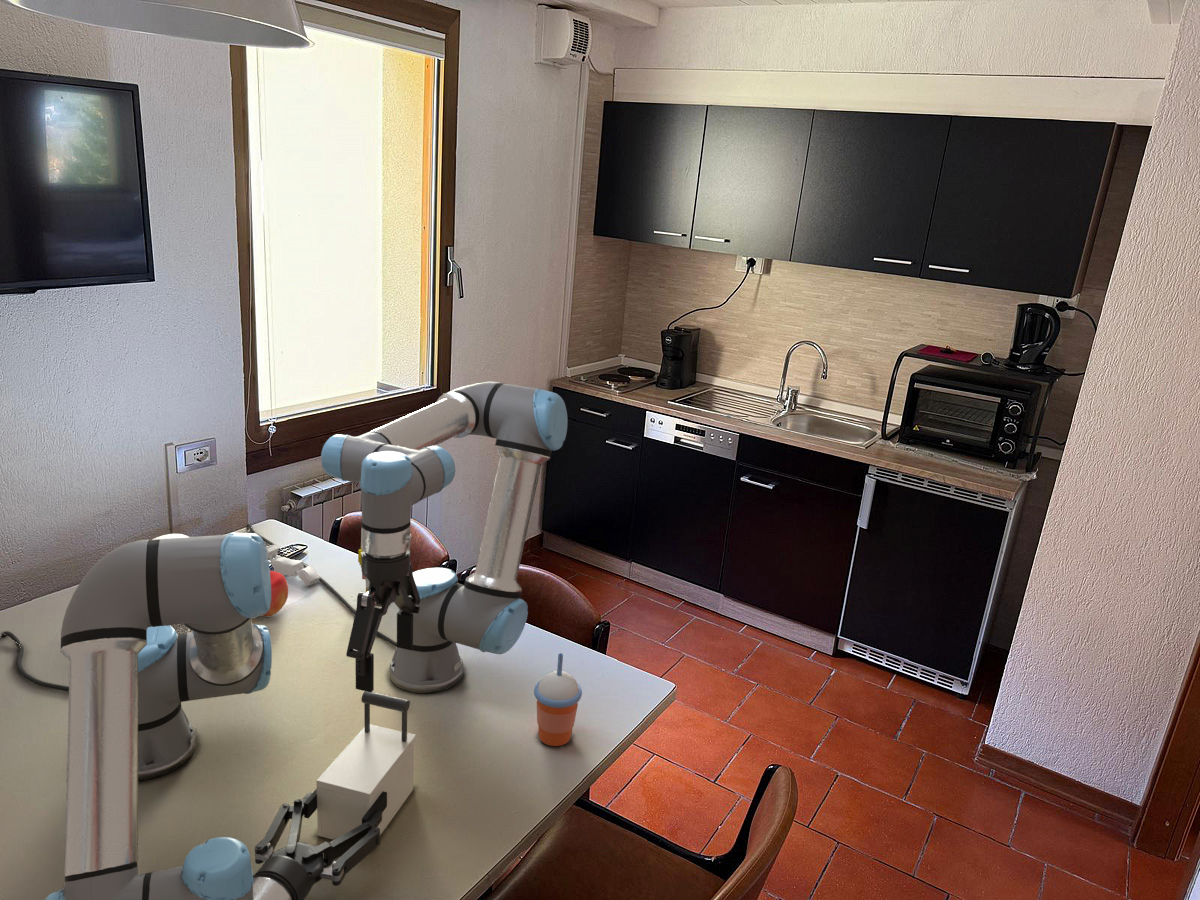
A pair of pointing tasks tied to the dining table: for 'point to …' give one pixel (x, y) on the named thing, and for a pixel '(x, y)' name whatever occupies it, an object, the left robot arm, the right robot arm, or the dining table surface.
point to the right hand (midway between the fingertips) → (385, 667)
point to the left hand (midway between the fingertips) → (356, 791)
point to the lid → (370, 752)
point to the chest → (364, 802)
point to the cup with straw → (557, 705)
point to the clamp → (291, 567)
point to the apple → (277, 593)
